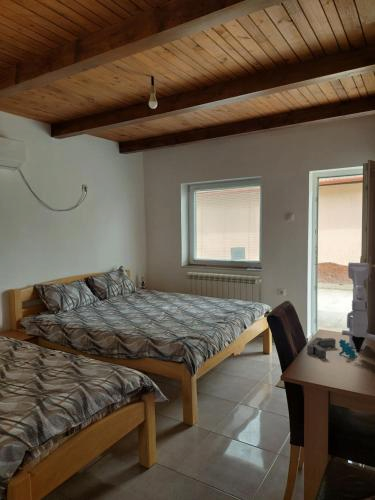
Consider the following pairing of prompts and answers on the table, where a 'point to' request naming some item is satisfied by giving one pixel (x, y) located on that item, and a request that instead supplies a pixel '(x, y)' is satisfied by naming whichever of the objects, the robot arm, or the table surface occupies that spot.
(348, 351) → the teal lobed flat part
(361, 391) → the table surface
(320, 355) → the v block
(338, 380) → the table surface
